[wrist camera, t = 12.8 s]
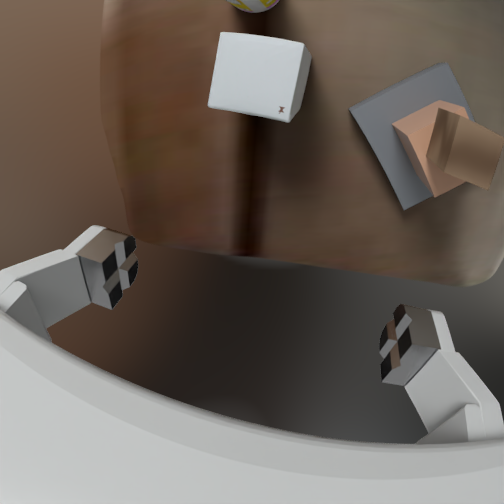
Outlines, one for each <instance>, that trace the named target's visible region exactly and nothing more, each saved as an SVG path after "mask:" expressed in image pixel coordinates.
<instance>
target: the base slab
mask: <svg viewBox="0 0 504 504" xmlns="http://www.w3.org/2000/svg"><path fill="white" fill-rule="evenodd" d="M438 100H441V101H445V102H449V103H452V104H455V105H459V106H462V107H464V108H465V110H466V112H467V115H468V117H469V120H471V121H473V122H475V121H474V118H473V116H472V113H471V111H470V109H469V106H468V104H467V102H466V99H465V97H464V95H463V93H462V91H461V89H460V86H459V84H458V82H457V80H456V78H455V76H454V74H453V72H452V70H451V69H450V67H449V65H448V63H438V64H436V65H433V66H431V67H429V68H427V69H425V70H423V71H421V72H418V73H416V74H414V75H412V76H410V77H408V78H406V79H404V80H402V81H400V82H398V83H396V84H394V85H392V86H390V87H388V88H386V89H384V90H382V91H380V92H378V93H376V94H375V95H373V96H371V97H369V98H367V99H365V100H363V101H361V102H360V103H358V104H356V105H354V106H352V107H350V108H349V110H350V112H351V114H352V115H353V117H354V118H355V120H356V122H357V123H358V125H359V127H360V128H361V130H362V132H363V133H364V135H365V137H366V138H367V140H368V142H369V144H370V145H371V147H372V149H373V151H374V153H375V154H376V156H377V158H378V160H379V162H380V164H381V165H382V167H383V169H384V171H385V173H386V175H387V177H388V179H389V181H390V183H391V185H392V187H393V189H394V191H395V193H396V195H397V197H398V199H399V201H400V203H401V205H402V207H403V209H404V210H406V209H408V208H410V207H412V206H414V205H416V204H418V203H420V202H422V201H424V200H426V199H428V198H430V197H432V196H433V195H432V193H431V192H430V191H429V189H428V188H427V187H426V186H425V184H424V183H423V182H422V181H421V179H420V178H419V177H418V176H417V174H416V172H415V170H414V167H413V165H412V163H411V161H410V159H409V157H408V155H407V153H406V151H405V149H404V147H403V145H402V143H401V141H400V139H399V137H398V135H397V133H396V131H395V129H394V127H393V126H392V123H394V122H396V121H398V120H400V119H402V118H404V117H406V116H408V115H410V114H412V113H414V112H416V111H418V110H420V109H422V108H424V107H426V106H428V105H430V104H432V103H434V102H436V101H438Z"/></svg>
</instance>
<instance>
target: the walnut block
mask: <svg viewBox="0 0 504 504" xmlns="http://www.w3.org/2000/svg"><path fill="white" fill-rule="evenodd" d="M503 144H504V137H502V136H500V135H498V134H496V133H495V132H493V131H491V130H489V129H487V128H485V127H483V126H481V125H479V124H477V123H475V122H473V121H471V120H469V119H467V118H465V117H463V116H460V115H458V114H455V113H453V112H450V111H447V110H444V109H441V108H438V112H437V116H436V120H435V124H434V128H433V132H432V136H431V139H430V143H429V146H428V150H427V153H426V156H427V157H428V158H429V159H430V160H431V161H432V162H433V163H434V164H435V165H436V166H438V167H439V168H440V169H441V170H442V171H443V172H444V173H447V174H449V175H452V176H454V177H457V178H459V179H462V180H464V181H467V182H469V183H472V184H474V185H476V186H479V187H481V188H483V189H486V190H489V187H490V184H491V182H492V179H493V176H494V173H495V170H496V167H497V164H498V161H499V158H500V154H501V151H502V148H503Z"/></svg>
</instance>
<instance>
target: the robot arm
mask: <svg viewBox="0 0 504 504" xmlns="http://www.w3.org/2000/svg"><path fill="white" fill-rule="evenodd" d="M135 249H136V241H135V238H134V237H133V236H131V235H128V234H125V233H122V232H118V231H115V230H112V229H107V228H105V227H101V226H98V225H93V226H91V227H90V228H89V229H87V230H86V231H85V232H84V233H83V234H81V235H80V236H79V237H78V238H77V239H76V240H75V241H73V242H72V243H71V244H70V245H69V246H68V247H66V248H65V249H64V250H61V249H59V250H56V251H53V252H50V253H47V254H45V255H42V256H39V257H36V258H33V259H30V260H28V261H25V262H22V263H19V264H16V265H14V266H11V267H9V268H6V269H3V270H1V271H0V504H504V424H503V419H502V414H501V409H500V405H499V403H498V401H497V400H496V399H495V397H494V396H493V395H492V393H491V392H490V391H489V390H488V388H487V387H486V386H485V384H484V383H483V382H482V380H481V379H480V378H479V377H478V375H477V374H476V373H475V372H474V371H473V369H472V368H471V367H470V366H469V364H468V363H467V362H466V361H465V360H464V358H463V357H462V356H461V355H460V354H459V353H456V352H455V350H454V346H453V343H452V339H451V336H450V332H449V329H448V326H447V323H446V320H445V317H444V315H443V313H442V312H438V311H433V310H426V309H421V308H417V307H412V306H408V305H404V304H400V305H399V306H398V307H396V309H395V311H394V312H393V316H394V319H393V320H392V321H390V322H388V323H387V324H386V325H385V327H384V329H383V330H382V333H381V336H380V341H379V353H380V354H381V355H382V357H383V358H384V360H383V361H382V362H381V364H380V368H381V382H383V383H389V384H396V385H403V386H405V389H406V391H407V393H408V395H409V396H410V398H411V400H412V402H413V404H414V405H415V407H416V409H417V411H418V413H419V415H420V417H421V419H422V421H423V423H424V424H425V427H426V429H427V431H428V433H429V434H428V435H426V436H425V437H423V438H422V439H420V440H419V441H418V442H417V443H416V444H390V443H389V444H388V443H373V442H360V441H351V440H342V439H334V438H327V437H320V436H312V435H307V434H301V433H296V432H291V431H285V430H281V429H276V428H271V427H267V426H262V425H258V424H254V423H250V422H245V421H242V420H238V419H234V418H230V417H227V416H224V415H220V414H217V413H213V412H210V411H207V410H204V409H200V408H197V407H194V406H191V405H188V404H185V403H182V402H179V401H177V400H174V399H171V398H168V397H165V396H163V395H160V394H158V393H155V392H153V391H150V390H148V389H145V388H143V387H140V386H138V385H135V384H133V383H131V382H128V381H126V380H124V379H122V378H119V377H117V376H115V375H113V374H110V373H108V372H106V371H104V370H102V369H100V368H98V367H96V366H94V365H92V364H90V363H88V362H86V361H84V360H82V359H80V358H78V357H76V356H74V355H73V354H71V353H69V352H67V351H65V350H64V349H62V348H60V347H58V346H56V345H55V344H53V343H51V338H50V336H49V334H48V332H47V330H46V328H47V327H49V326H51V325H53V324H54V323H56V322H58V321H60V320H61V319H63V318H65V317H67V316H69V315H70V314H72V313H74V312H76V311H78V310H79V309H81V308H83V307H85V306H87V305H88V304H90V303H91V302H93V303H95V304H98V305H101V306H104V307H106V308H109V309H113V308H114V306H115V305H116V304H117V303H118V302H119V300H120V299H121V298H122V296H123V293H122V290H123V289H126V288H128V287H130V286H131V284H132V283H133V282H134V280H135V278H136V275H137V272H138V259H137V258H136V256H135V254H134V253H133V251H134V250H135Z"/></svg>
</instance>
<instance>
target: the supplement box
mask: <svg viewBox="0 0 504 504" xmlns="http://www.w3.org/2000/svg"><path fill="white" fill-rule="evenodd" d="M311 58H312V56H311V54H310V53H309V51H308V50H307V48H306V46H305V45H304V44H303V43H300V42H295V41H290V40H285V39H279V38H274V37H267V36H260V35H252V34H243V33H231V32H221V33H220V39H219V45H218V50H217V56H216V62H215V67H214V72H213V78H212V84H211V89H210V95H209V101H208V107H210V108H216V109H222V110H228V111H234V112H240V113H245V114H249V115H256V116H261V117H266V118H270V119H275V120H279V121H283V122H287V123H288V122H290V121H291V120H292V118H293V117H294V116H295V114H296V113H297V112H298V111H299V110H300V107H301V103H302V99H303V95H304V91H305V87H306V82H307V78H308V73H309V68H310V63H311Z"/></svg>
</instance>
